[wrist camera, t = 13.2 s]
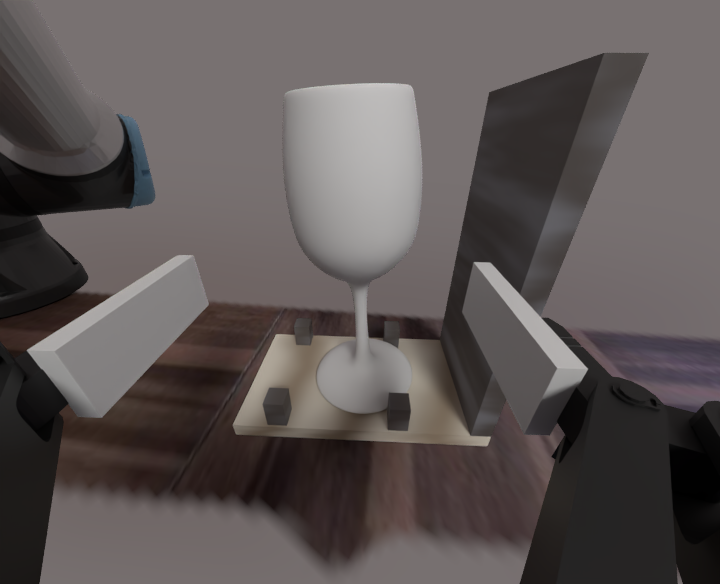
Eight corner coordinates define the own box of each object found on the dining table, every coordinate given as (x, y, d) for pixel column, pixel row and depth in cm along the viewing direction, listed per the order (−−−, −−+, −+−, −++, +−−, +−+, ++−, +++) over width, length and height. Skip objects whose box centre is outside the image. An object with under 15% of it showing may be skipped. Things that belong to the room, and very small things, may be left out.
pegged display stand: (235, 434, 22) (101, 50, 10) (277, 342, 31) (232, 89, 20) (487, 446, 21) (648, 53, 10) (451, 348, 31) (511, 92, 19)
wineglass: (427, 360, 26) (459, 86, 15) (380, 435, 20) (376, 73, 9) (353, 330, 31) (335, 98, 19) (296, 384, 25) (223, 95, 13)
